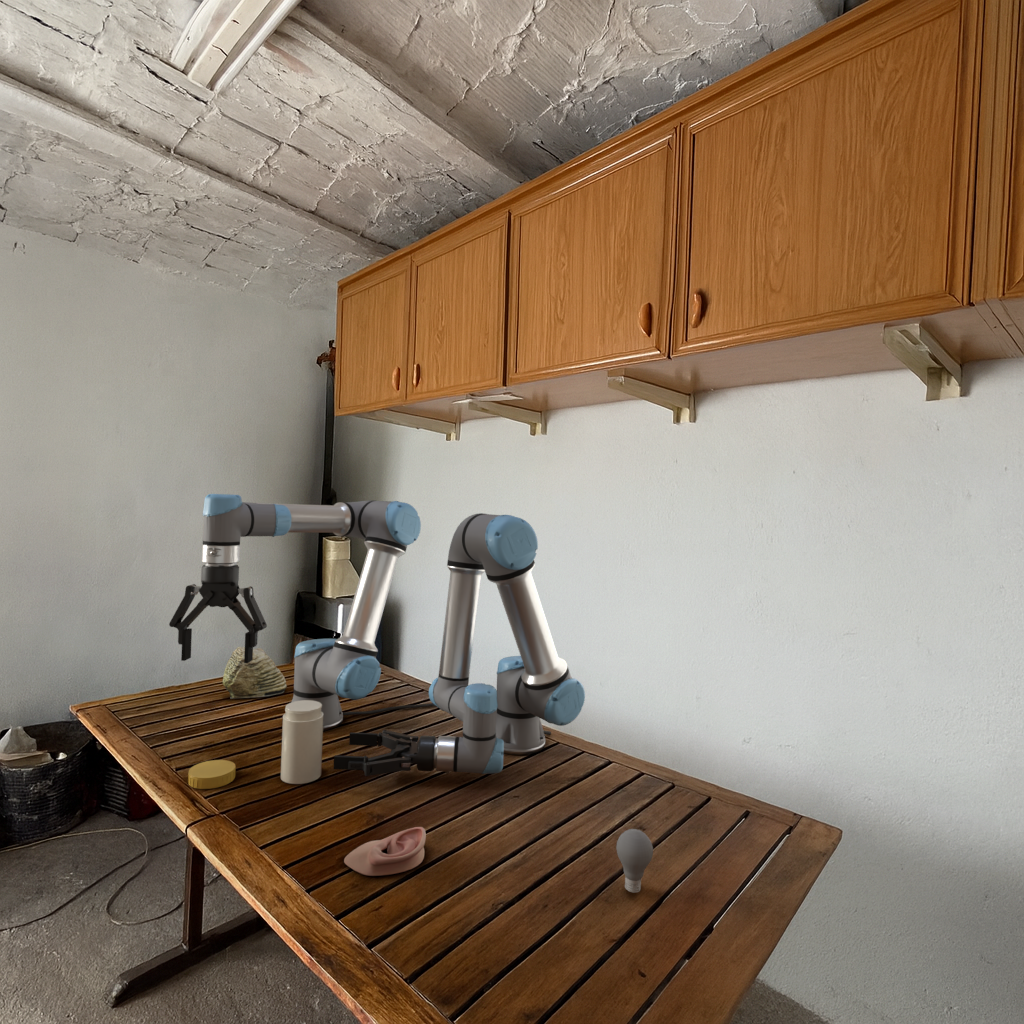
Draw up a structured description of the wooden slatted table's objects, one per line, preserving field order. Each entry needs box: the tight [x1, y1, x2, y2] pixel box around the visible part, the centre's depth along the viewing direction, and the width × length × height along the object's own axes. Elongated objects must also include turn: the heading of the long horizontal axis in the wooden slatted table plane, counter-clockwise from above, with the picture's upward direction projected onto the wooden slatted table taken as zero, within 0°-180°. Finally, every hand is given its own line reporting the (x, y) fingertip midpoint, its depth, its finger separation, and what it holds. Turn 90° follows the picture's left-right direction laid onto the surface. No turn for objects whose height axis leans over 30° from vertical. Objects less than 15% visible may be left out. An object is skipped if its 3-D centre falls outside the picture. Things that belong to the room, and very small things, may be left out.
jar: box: [280, 700, 324, 785], centre depth 143 cm, size 9×9×16 cm
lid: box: [187, 759, 237, 790], centre depth 140 cm, size 9×10×2 cm
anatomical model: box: [343, 826, 427, 877], centre depth 112 cm, size 13×4×12 cm
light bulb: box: [615, 828, 654, 894], centre depth 106 cm, size 6×6×10 cm
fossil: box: [222, 646, 288, 699], centre depth 198 cm, size 9×18×15 cm, turn 132°
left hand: (217, 660), depth 139 cm, fingers open, 13 cm apart
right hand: (342, 749), depth 144 cm, fingers open, 13 cm apart
